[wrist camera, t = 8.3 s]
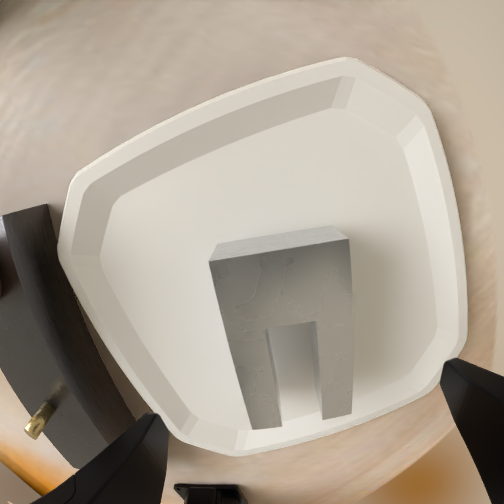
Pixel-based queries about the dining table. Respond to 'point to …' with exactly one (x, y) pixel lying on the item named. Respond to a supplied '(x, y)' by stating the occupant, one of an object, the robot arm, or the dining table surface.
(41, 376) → the body
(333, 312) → the lever cap
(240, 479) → the dining table surface
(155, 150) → the plate
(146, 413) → the robot arm
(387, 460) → the dining table surface
